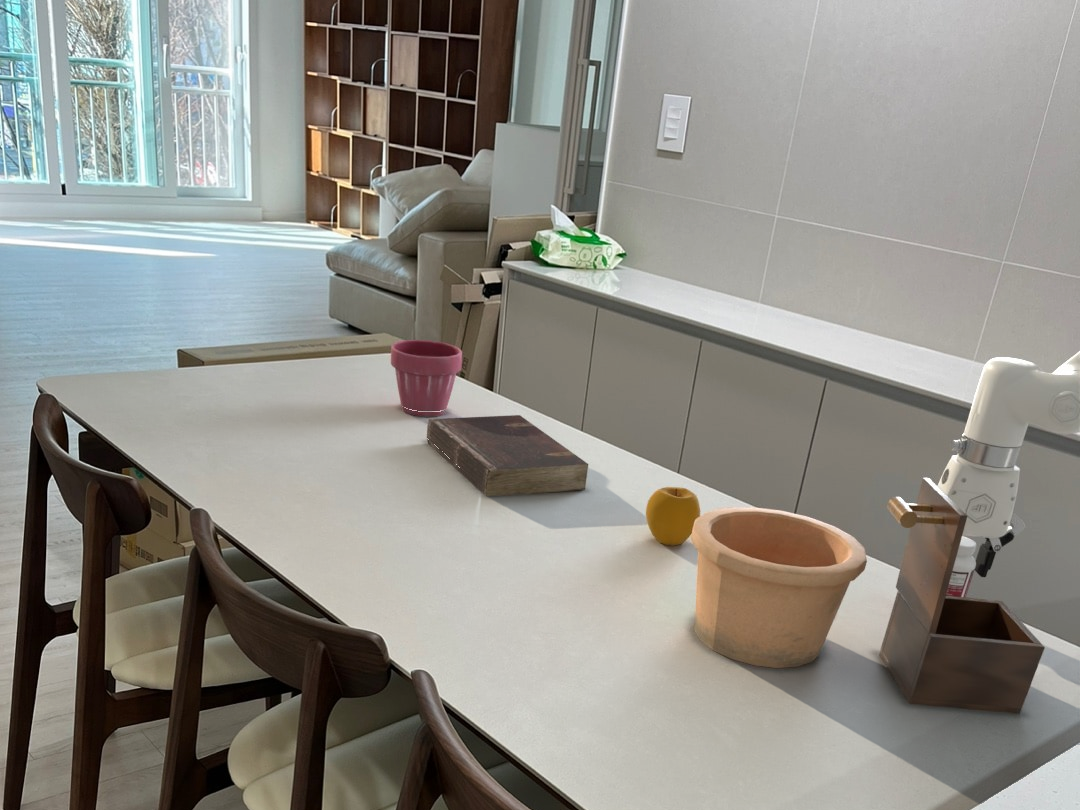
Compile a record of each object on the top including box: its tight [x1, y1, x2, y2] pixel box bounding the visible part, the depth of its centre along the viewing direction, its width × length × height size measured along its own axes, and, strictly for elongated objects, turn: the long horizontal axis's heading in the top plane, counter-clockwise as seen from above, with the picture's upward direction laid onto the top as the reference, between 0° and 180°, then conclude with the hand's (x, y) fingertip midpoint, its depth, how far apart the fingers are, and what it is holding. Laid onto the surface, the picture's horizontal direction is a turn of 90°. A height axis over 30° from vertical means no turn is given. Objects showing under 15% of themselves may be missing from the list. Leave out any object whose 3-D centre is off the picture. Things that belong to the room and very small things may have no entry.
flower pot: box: [390, 339, 463, 418], centre depth 215 cm, size 14×14×13 cm
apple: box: [645, 486, 701, 547], centre depth 166 cm, size 8×8×9 cm
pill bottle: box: [946, 535, 978, 598], centre depth 152 cm, size 6×6×11 cm
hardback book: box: [426, 414, 589, 497], centre depth 190 cm, size 29×19×5 cm, turn 25°
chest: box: [878, 590, 1046, 715], centre depth 132 cm, size 14×13×9 cm
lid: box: [886, 477, 967, 633], centre depth 126 cm, size 15×13×6 cm
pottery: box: [690, 506, 868, 669], centre depth 137 cm, size 22×22×14 cm
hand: (950, 570), depth 152 cm, fingers open, 8 cm apart
